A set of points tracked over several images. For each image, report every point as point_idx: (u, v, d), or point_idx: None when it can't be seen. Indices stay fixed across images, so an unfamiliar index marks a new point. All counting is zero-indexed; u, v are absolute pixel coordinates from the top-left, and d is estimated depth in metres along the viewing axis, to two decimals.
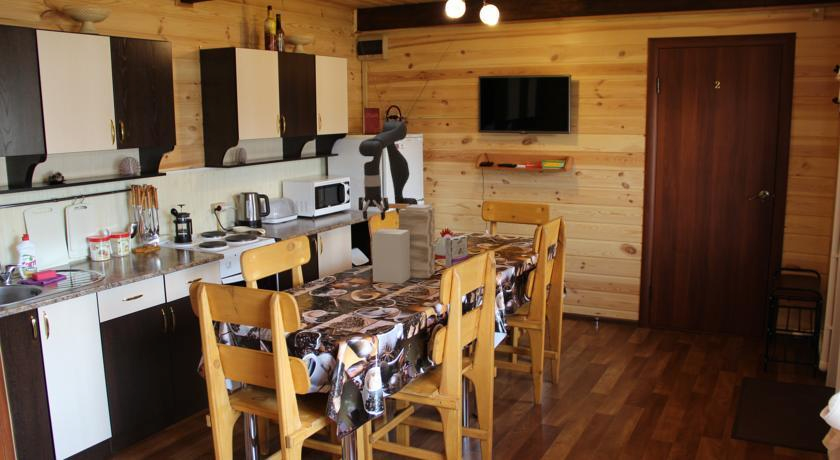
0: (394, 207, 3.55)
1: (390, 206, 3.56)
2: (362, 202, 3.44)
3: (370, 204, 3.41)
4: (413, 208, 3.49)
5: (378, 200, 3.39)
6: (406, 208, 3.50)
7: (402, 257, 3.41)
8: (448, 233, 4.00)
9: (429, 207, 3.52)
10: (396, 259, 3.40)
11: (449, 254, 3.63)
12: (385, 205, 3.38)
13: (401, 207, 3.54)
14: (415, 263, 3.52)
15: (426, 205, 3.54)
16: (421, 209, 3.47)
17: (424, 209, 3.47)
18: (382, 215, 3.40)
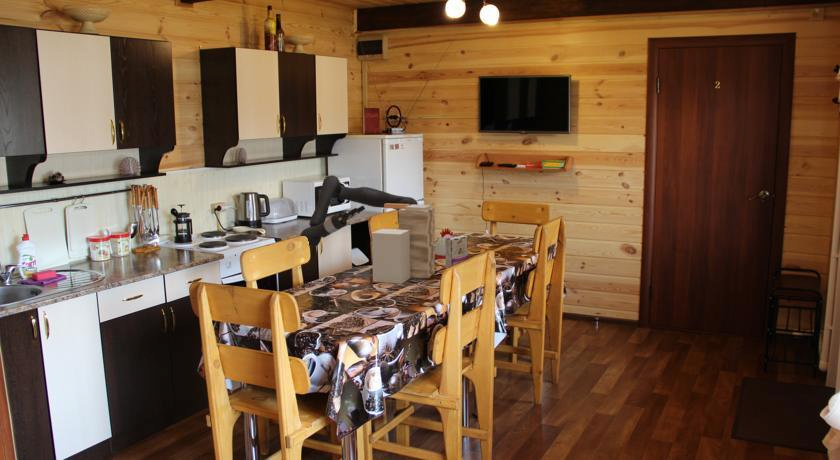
0: (394, 207, 3.55)
1: (390, 206, 3.56)
2: None
3: (351, 216, 3.70)
4: (413, 208, 3.49)
5: (344, 219, 3.67)
6: (406, 208, 3.50)
7: (402, 257, 3.41)
8: (448, 233, 4.00)
9: (429, 207, 3.52)
10: (396, 259, 3.40)
11: (449, 254, 3.63)
12: (345, 218, 3.63)
13: (401, 207, 3.54)
14: (415, 263, 3.52)
15: (426, 205, 3.54)
16: (421, 209, 3.47)
17: (424, 209, 3.47)
18: (353, 213, 3.63)
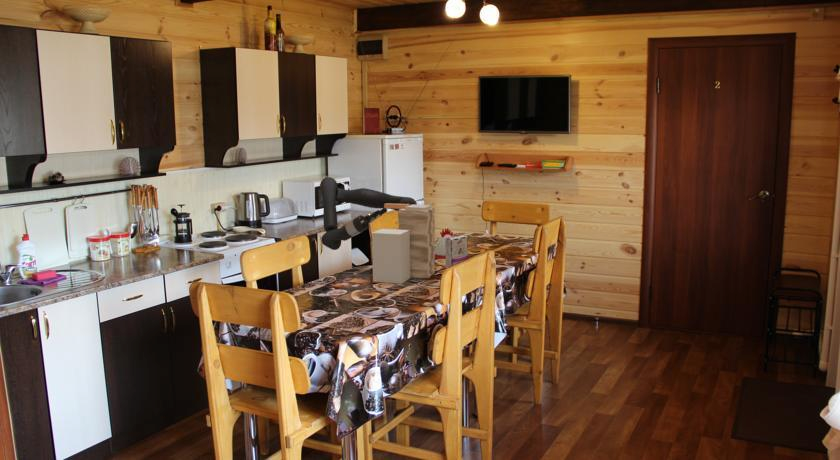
0: (394, 207, 3.55)
1: (390, 206, 3.56)
2: None
3: (373, 219, 3.62)
4: (413, 208, 3.49)
5: (366, 222, 3.59)
6: (406, 208, 3.50)
7: (402, 257, 3.41)
8: (448, 233, 4.00)
9: (429, 207, 3.52)
10: (396, 259, 3.40)
11: (449, 254, 3.63)
12: (367, 221, 3.55)
13: (401, 207, 3.54)
14: (415, 263, 3.52)
15: (426, 205, 3.54)
16: (421, 209, 3.47)
17: (424, 209, 3.47)
18: (376, 215, 3.55)
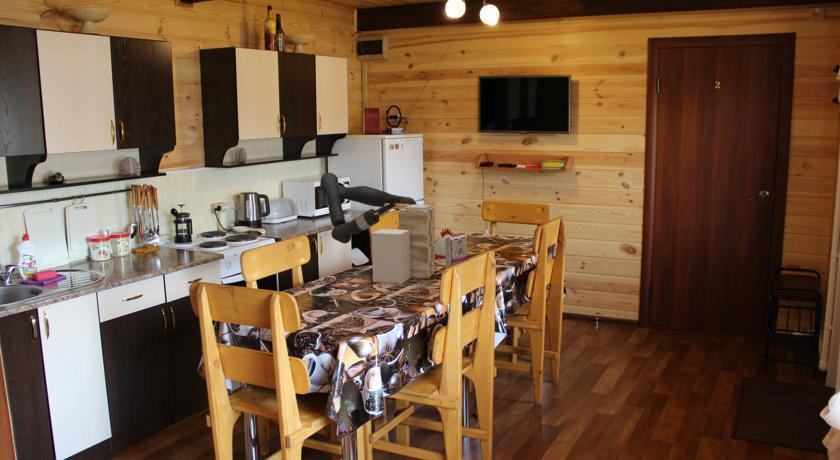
0: (394, 207, 3.55)
1: None
2: None
3: (382, 213, 3.59)
4: (413, 208, 3.49)
5: (379, 214, 3.57)
6: (406, 208, 3.50)
7: (402, 257, 3.41)
8: (448, 233, 4.00)
9: (429, 207, 3.52)
10: (396, 259, 3.40)
11: (449, 254, 3.63)
12: (382, 213, 3.54)
13: (401, 207, 3.54)
14: (415, 263, 3.52)
15: (426, 205, 3.54)
16: (421, 209, 3.47)
17: (424, 209, 3.47)
18: (391, 207, 3.55)
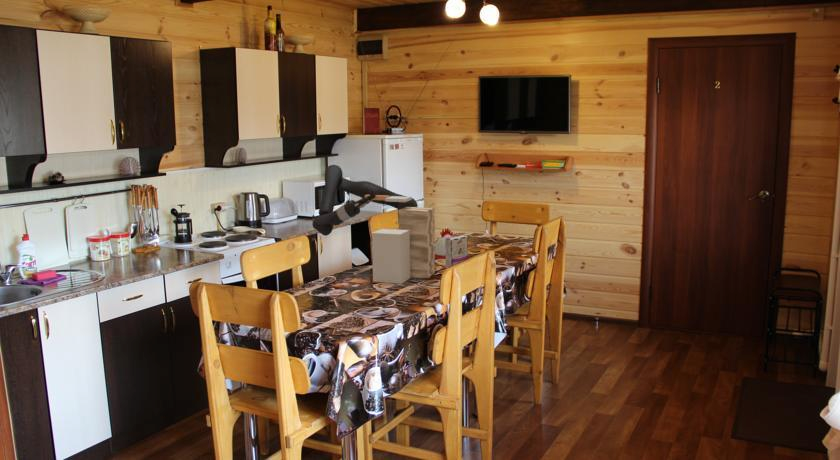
0: (374, 198, 3.58)
1: None
2: None
3: None
4: (393, 199, 3.51)
5: (359, 206, 3.59)
6: (386, 199, 3.52)
7: (402, 257, 3.41)
8: (448, 233, 4.00)
9: (409, 199, 3.54)
10: (396, 259, 3.40)
11: (449, 254, 3.63)
12: (362, 204, 3.56)
13: (381, 198, 3.56)
14: (415, 263, 3.52)
15: (406, 197, 3.57)
16: (401, 200, 3.50)
17: (404, 200, 3.49)
18: (371, 198, 3.57)
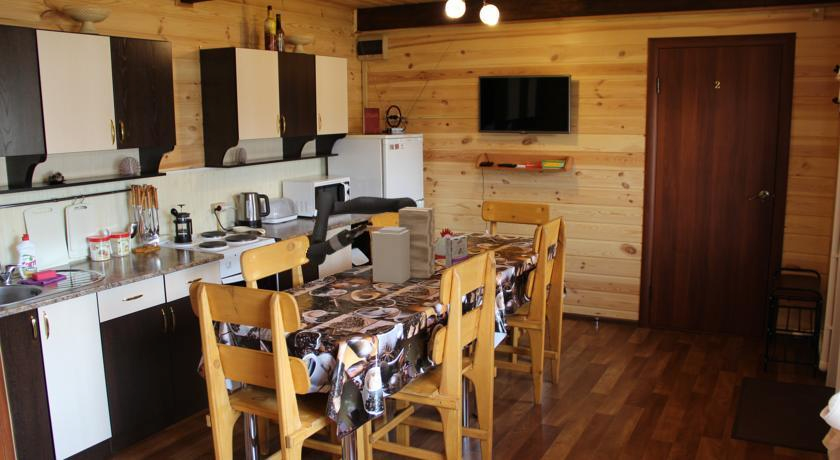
0: (368, 229, 3.47)
1: None
2: None
3: (357, 233, 3.52)
4: (387, 231, 3.41)
5: (351, 236, 3.49)
6: (380, 231, 3.42)
7: (402, 257, 3.41)
8: (448, 233, 4.00)
9: (404, 229, 3.44)
10: (396, 259, 3.40)
11: (449, 254, 3.63)
12: (353, 235, 3.45)
13: (375, 229, 3.46)
14: (415, 263, 3.52)
15: (401, 227, 3.46)
16: (395, 232, 3.39)
17: (398, 232, 3.39)
18: (362, 229, 3.45)
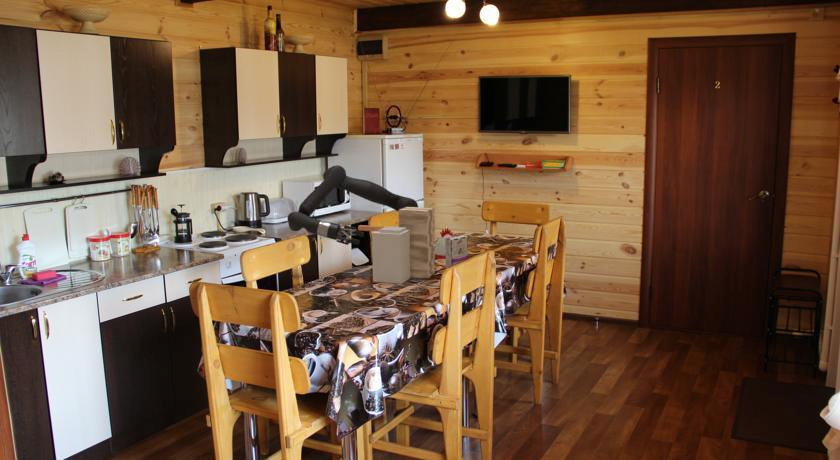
0: (368, 229, 3.47)
1: (364, 228, 3.48)
2: (348, 228, 3.57)
3: None
4: (387, 231, 3.41)
5: None
6: (380, 231, 3.42)
7: (402, 257, 3.41)
8: (448, 233, 4.00)
9: (404, 229, 3.44)
10: (396, 259, 3.40)
11: (449, 254, 3.63)
12: None
13: (375, 229, 3.46)
14: (415, 263, 3.52)
15: (401, 227, 3.46)
16: (395, 232, 3.39)
17: (398, 232, 3.39)
18: None
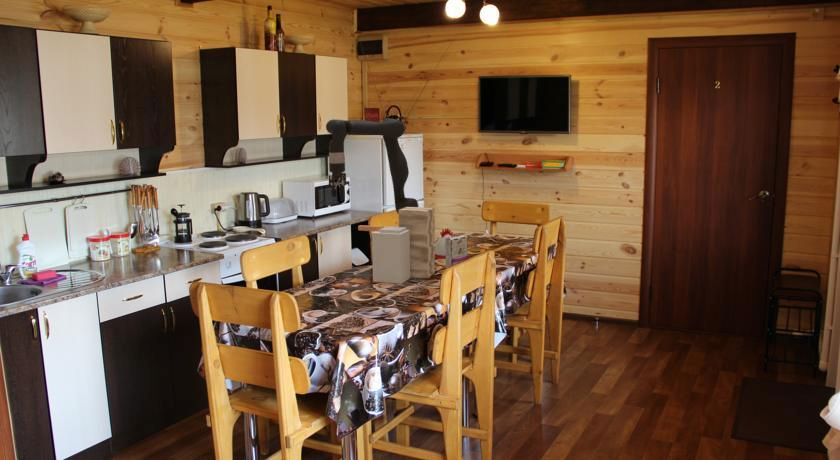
0: (368, 229, 3.47)
1: (364, 228, 3.48)
2: (343, 178, 3.61)
3: None
4: (387, 231, 3.41)
5: None
6: (380, 231, 3.42)
7: (402, 257, 3.41)
8: (448, 233, 4.00)
9: (404, 229, 3.44)
10: (396, 259, 3.40)
11: (449, 254, 3.63)
12: None
13: (375, 229, 3.46)
14: (415, 263, 3.52)
15: (401, 227, 3.46)
16: (395, 232, 3.39)
17: (398, 232, 3.39)
18: None
